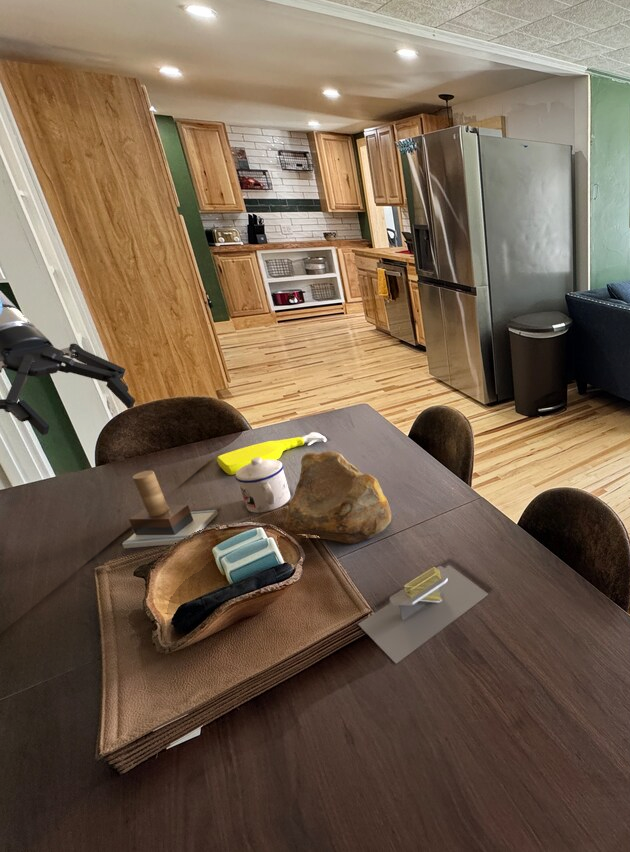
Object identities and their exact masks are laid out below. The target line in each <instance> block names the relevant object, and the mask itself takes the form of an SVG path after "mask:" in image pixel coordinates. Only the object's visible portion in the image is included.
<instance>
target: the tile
mask: <svg viewBox="0 0 630 852" xmlns="http://www.w3.org/2000/svg"><path fill="white" fill-rule="evenodd" d="M190 512H191V515H192V517H193V521H192V522H191V523H189V524H188V525H187V526H186V527H184V528H183V529H182V530H181V531H179V532H178V533H177V534H176V535H136V534H135V532H133V534H132V535H130V536H129V537H128V538H127V539H126V540H124V541H123V542H122V544H121V545H122V547H123V549H134V548H146V547H156V546H157V547H158V546H168V545H170V546H171V545H176V544H175V543H177V542H178V541H180V540H182V539H184V538H186V537H188V536H189V535H191V534H192V533H194V532H197V531H199V530H202V529H203V530H204V529H205V528H206V527H207V526H208V525H209V524H210V523H211V522H212V521H213V520H214V519H215V518H216V517H217V516H218V515H219V513H218V510H217V509H209V510H195V511H190ZM203 530H202V531H203Z"/></svg>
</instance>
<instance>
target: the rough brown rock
mask: <svg viewBox="0 0 630 852" xmlns="http://www.w3.org/2000/svg"><path fill="white" fill-rule="evenodd" d="M300 460H301V462H300V466H301V467H300V474H299V479H298V481H297V484H296V486H295V491H294V494H293V496H292V498H291V501H290V502H289V506H288V509H287V512H286V514H285V517H284V521H283V529H285V530H287V531H288V532H289V533H292V534H293V535H295V536H296V537H298V538H303V539H307V538H306V536H302V535H296V534H310V535H317V536H319V537H320V538H319V539H321V540H322V539H323V540H330V541H334V542H338V543H339V542H340V543H344V544H349V545H352V544H355V545H356V544H360V543H361V542H362V541H364V540H367V539H371V538H373V537H375V536H377V535H378V534H380V533H381V532H383V531H384V530H385V529H386V528H387V527H388V526H389V524H390V523H391V521H392V510H391V508H390V504H389V501H388V499H387V497H386V495H385V494H384V493H383V489H382V488H381V485H380V484H379V481H378V479H377V478H375V477H374V476H373V475H371V474H370V473H362V472H360V470H359V469H358V468H357V467H356V466H355V465H354V464H352V463H350V462H348V460H347V459H346V458H345V457H344V456H343V454H341V453H339V452H337V451H334V450H332V451H331V450H329V451H324V452H321V453H317V452H307V453H305V454H304V455H303V456H302V457H301V459H300Z"/></svg>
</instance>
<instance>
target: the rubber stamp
mask: <svg viewBox="0 0 630 852" xmlns="http://www.w3.org/2000/svg"><path fill="white" fill-rule="evenodd" d="M132 480H133V482H134V484H135V487H136V490H137V492H138V495H139V496H140V498H141V500H142V503H143V505H144V508H143V509H141V510H140V511H138V512H137V513H135V514H134V515H132V516H131V517H130V518H128V521H129V523H130V525H131V527H132V530H133V533H135V534H136V535H176V534H177V533H178V532H179V531H181V530H182V529H183V528H184V527H186V526H187V525H188V524H189V523H191V522H192V521H193V517H192V515H191V512H192V511H191V510H190V507H189V504H168V502H167V501H166V498H165V496H164V495H165V494H164V493H163V490H162V488H161V486H160V484H159V480H158V478H157V476H156V473H155V471H153V470H144V471H140V472H138V473H136V474H134V475H133V476H132Z"/></svg>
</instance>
